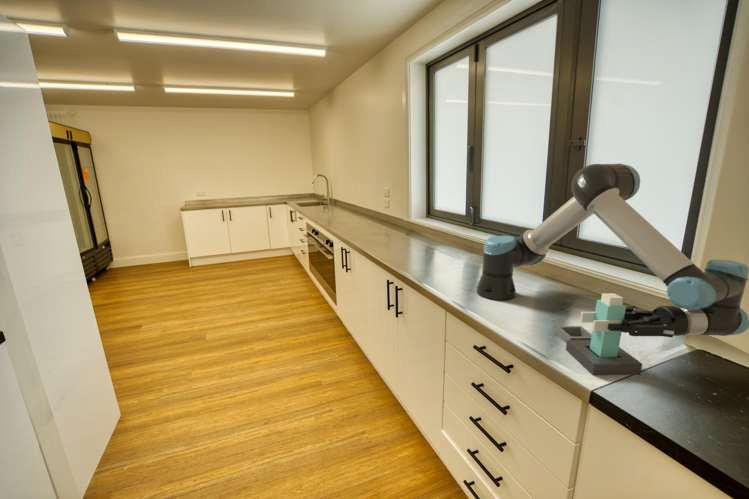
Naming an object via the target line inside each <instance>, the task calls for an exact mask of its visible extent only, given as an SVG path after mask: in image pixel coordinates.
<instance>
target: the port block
mask: <svg viewBox="0 0 749 499" xmlns="http://www.w3.org/2000/svg"><path fill="white" fill-rule="evenodd" d="M590 343H591V340H567V344H566V345H565V351H566V352H567V353H569V354H570V355H571V356H572V357H573V358H574V359H575V361H577V362H578V364H579V363H580V365H581V366H582V367H583V368H585V370H587V371H588V373H590V374H591V375H592V376H616V375H617V376H622V375H623V376H627V375H628V376H629V375H630V376H631V375H632V376H633V375H634V376H636V375H637V376H638V375H639V376H641V373H642V370H643V363H642V362H641V361H639V360H638V359H637V358H635V357H634V356H632V355H631V354H630V353H628V352H627V351H626V350H624V349H622V348H621V347H620V346H619V350H618V355H617V357H598V355H597V354H596V353H594V352H593V351H592V350H591V349H590Z"/></svg>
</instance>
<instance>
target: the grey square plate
mask: <svg viewBox="0 0 749 499" xmlns="http://www.w3.org/2000/svg"><path fill="white" fill-rule="evenodd" d="M555 335H556V336H558V337H559V338H560V339H561V340H562V341H563V342H564V343H565V344H566V345H567V340H591V336H592V332H590V331H588V330H587V329H585V328H584V327H583V326H582V325H564V326H562V325H558V326H557V325H556V327H555ZM572 335H573V336H572ZM574 335H576V336H574ZM577 335H578V336H577Z"/></svg>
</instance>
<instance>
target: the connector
mask: <svg viewBox="0 0 749 499" xmlns="http://www.w3.org/2000/svg"><path fill="white" fill-rule="evenodd" d="M623 302H624V297H623V296H620V295H619V294H616V293H614V292H613V293H612V292H611V293H606V292H605V293H601V298H600V299H596V305H595V311H594V312H595V317H594V320H620V321H621V324H622V323H623V319H624V315H625V310H626V307H627V306H626V305H624V304H623ZM591 334H592V336H591V343H590V349H591V350H592V351H593V352H594V353H596V354H597V355H596V356H597V357H598V356H599V357H598V358H607V357H617V355H618V350H619V347H620V344H621V336H622V332H621V331H593V330H592V329H591Z"/></svg>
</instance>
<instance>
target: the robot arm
mask: <svg viewBox="0 0 749 499" xmlns="http://www.w3.org/2000/svg"><path fill="white" fill-rule="evenodd" d="M640 177H641V176H640V174H639V172H638V171H637V170H636V168H634V167H633V166H631V165H629V164H624V163H593V164H589V165H586V166H584V167H582V168H581V169H579V170H578V171H577V172H576V173H575V175H574V177H573V178H572V181H571V194H572V195H573V196H572V197H571V198H570V199H568V201H566V202H565V203H564V204H562V205H561V206H560V207H559V208H558V209H557V210H555V211H554V212H553V213H552V214H550V216H548V217H547V218H546V219H545V220H544V221H542V222H541V223H540V224H539V225H537V226H536V227H535V228H534V229H527V230H525V231H524V232H523V233H522V234H521V235H519V236H518V237H514V236H510V235H495V236H490V237H488V238H487V239H486V240H485V241H484V246H483V257H482V272H481V275H480V279H479V280H478V284H477V285H476V294H477V295H479V296H480V297H481V298H482V297H483V298H485V299H489V300H494V301H508V300H512V299H514V298H515V297H516V294H517V293H516V291H517V290H516V285H515V282H514V279H513V276H514V275H513V274H514V268H518V267H525V266H533V265H536V264H538V263H541V262H542V261H543V260H544V259H545V258H546V256H547V254H548V253H549V250H550V247H551V245H553V244H554V243H555V242H557V241H558V240H560V239H561V238H563V236H566V235H567V234H568V233H569V232H570V231H572V230H574V229H575V228H576V227H577V226H579V225H580V224H582V223H583V222H584V221H586V220H587V219H588V218H590V217H591V216H592V215H595V216H596V217H597V218H598V219H599V220H600V221H601V222H602V223H603V224H604V225H606V227H607V228H608V229H609V230H610V231H611V232H612V233H613V234H614V235H615V236H616V237H617V238H618V239H619V240H620V241H621V242H622V243H623V244H624V245H626V247H627V248H628V249H629V250H630V251H631V252H632V253H633V254H634V255H635V256H636V257H637V258H638V259H639V260H640V261H641V262H642V263H643V264H644V265H645V266H646V267H647V268H648V269H649V270H650V271H651V272H652V273H654V275H655V276H656V277H657V278H658V279H659V280H660V281H661V282H662V283H663V284H664V285H665V286H666V287H667V288H666V294H667V297H668V300H669V301H670V302H671V303H672V304H674V305H660V306H657V307H655V309H653V310H643V311H641V310H638V307H637V306H634V305H633V306H626V310H625V315H624V319H623V323H622V324H621V321H620V320H594V317H595V311H581V312H580V317H579V322H580V323H592V328H591V331H592V330H593V331H621V333H624V334H625V333H626V334H627V333H628V335H629V336H630V337H666V338H674V337H675V336H677V337H678V336H683V337H688V336H719V337H720V336H723V337H724V336H725V337H726V336H736V335H741V334H742V333H743V334H744V332H746V331H747V330H748V329H749V315H748V314H747V312H746V311H745V310H744V309H742V308H741V303H742V299H743V296H744V292H745V288H746V286H747V285H746V284H747V281H749V278H748V277H749V266H748V265H747V264H745V263H743V262H740V261H735V260H728V259H709V260H708V261H707V263H706V266H705V267H704V271H702V269H701V268H699V267H698V266H697V265H696V264H695V263H694V262H693V261H692V260H691V259H689V257H687V256H686V255H685V254H684V253H683V252H682V251H681V250H680V249H679V248H677V247H676V246H675V245H674V244H673V243H672V242H671V241H669V239H668V238H667V237H665V235H663V234H662V233H661V232H660V231H659V230H658V229H657V228H655V227H654V226H653V225H652V224H651V223H650V222H649V221H647V220H648V219H647V220H646V219H645V218H644V216H642V214H640V213H639V212H638V211H637V210H635V209H634V207H632V206H631V205H630V204H629V203H628V202H627V200H630V199H631V198H633V197H634V196H635V195H636V194H637V193H638V192H639V189H640V186H641V178H640Z"/></svg>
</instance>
